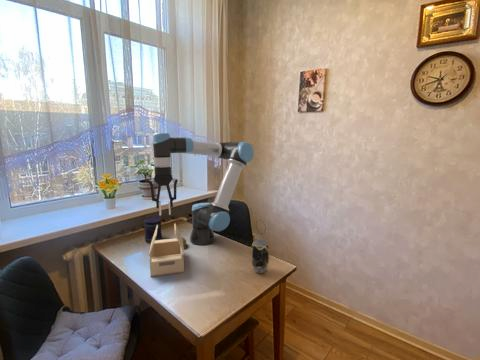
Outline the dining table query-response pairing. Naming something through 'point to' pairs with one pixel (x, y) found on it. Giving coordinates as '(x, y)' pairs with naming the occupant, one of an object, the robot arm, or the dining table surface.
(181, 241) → the flap
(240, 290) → the dining table surface
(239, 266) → the dining table surface
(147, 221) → the dark blue barrel
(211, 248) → the dining table surface
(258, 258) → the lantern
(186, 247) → the seashell
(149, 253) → the flap
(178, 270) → the carton
